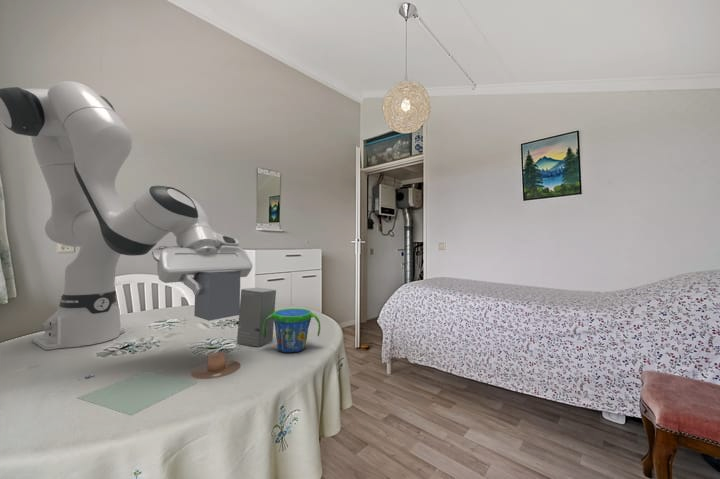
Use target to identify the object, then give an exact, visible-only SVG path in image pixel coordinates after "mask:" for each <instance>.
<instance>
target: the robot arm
mask: <svg viewBox="0 0 720 479" xmlns="http://www.w3.org/2000/svg"><path fill="white" fill-rule="evenodd" d="M0 121H1V122H2V125H4V126H5V128H6V129H8V130H9V131H11V132H13V133H14V134H17V135H19V136H20V135H21V136H27V137H28V136H30V138H31V143H32V147H33V151H34V154H35V158H36V160H37V163H38V165H39V168H40V170H41V173H42V175H43V177H44V180H45V183H46V186H47V188H48V191H49V194H50V199H51V213H50V214H51V215H50V217H49V218H48V220H47V221H46V223H45V226H44V231H45V235H46V236H47V238H49V239H50V241H52V242H54V243H57V244H61V245H62V246H63V245H64V246H69V247H75V248H76V247H78V248H79V247H80V248H79V251H78V253H77V254H76V257H75V258H74V260H72V262H70V263H69V264H67V266H66V267H65V270H64V287H63V288H64V290H63V291H64V292H63V294H62V295H60V297H61V298H60V300H59V304H58V306H59V309H58V310H56V311H55V312H54V313H53V314H52V315H51V316H50V317H49V318H47V319H46V320H45V322H43V323H41V324H40V325H41V326H40V330H41V331H42V332H44V334H42V335H38V336H34V337H33V339H32V343H35V344H36V345H37V346H39V347H40V348H42V350H45V351H49V350H55V349H56V350H57V349H62V348H63V349H64V348H77V347H83V346H91V345H95V344H100V343H104V342H108V341H112V340H113V339H117V338H118V337H120V335H121V334H123V333H125V328H122V326H121V325H122V324H121V311H120V307H119V306H117V305H116V304H115V303H116V302H117V291H116V290H115V285H116V283H115V282H116V272H117V271H116V270H117V266H118V265H117V264H118V262H119V259H120V257H121V255H124V256H144V255H146V254H148V253H149V252H150V251H151V250H152V249H153V250H152V253H151V254H152V257H153V260H154V261H155V262H157V263H156V271H157V275H158V279H159V281H160V282H163V283H164V284H169V283H182V282H183V285H185V286H186V287H187V288H189V289H190V290H191V291H192V292H193V295H194V296H195V295H200V294H203V292H204V287H203V285H202V284H198V283H197V282H196V281H195V276H196V273H199V271H216V270H237V271H241V272H240V278H247V277H248V276H249V274H250V273H251V271H252V269H253V263H252V261H251V259H250V257H249V255H248V254H247V252H246V251H245V250H244V249H243V248H242V247H240V241H239V240H238V239H237V238H234V237H230V236H227V235H224V234H221V233H218V232H216V231H215V229H213V228H212V225H211V221H210V219H209V217H208V215H207V212H205V210H204V208H203V207H202V206H201V205H200V203H199V202H198V201H197V200H196V199H194V198H193V197H191V196H188V195H187V194H185V193H184V192H183V191H181V190H179V189H177V188H175V187H170V186H167V185H152V186H150V187H149V188H148V189H146V190H145V191H144V192H142V193H141V194H140V195H139V196H137V198H135V199H134V200H133V201H132V202H131V203H130V204H129V205H127V206H126V207H125V206H124V204H123V202H122V200H121V198H120V196H119V195H118V192H117V190H116V187H115V186H116V185H115V184H116V183H115V182H116V179H117V177H118V174H119V172H120V169H121V168H122V166H123V164H124V163H125V161H126V160H127V158H128V157H129V155H130V153H131V150H132V148H133V138H132V135H131V132H130V130H129V128H128V127H127V125H126V124H125V122H124V121H123V120H122V119H121V117H120V116H119V115H118V114H117V112H116V110H115V108H114V106H113V105H112V103H111V102H110V101H109V100H108V99H107V98H106V97H105V96H102V95H100V94H98V93H97V92H96V91H95V90H93V89H92V88H91V87H89V86H88V85H86V84H83V83H80V82H77V81H72V80H71V81H70V80H64V81H59V82H57V83H55V84H53V85H52V86H50V87H49V88H21V87H18V86H13V87H3V88H0ZM170 233H172V234H173V236H174V237H175V238H176V239H175V242H176V245H175V246H173V245H172V246H166V245H164V246H163V245H162V246H158V247H156V248H154V247H155V246H156V245H157V244H158V242H159V241H161V240H162V239H163V238H164V237H166V236H167V235H168V234H170Z"/></svg>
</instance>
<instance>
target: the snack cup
mask: <svg viewBox="0 0 720 479" xmlns="http://www.w3.org/2000/svg"><path fill="white" fill-rule="evenodd" d="M269 318H273V319H274V330H275V331H274V332H275V338H276V346H277V349H278V351H280V352H282V353H294V352H296V353H297V352H298V353H299V352H300V351H303V350H304V349H305V348H306V346H307V345H306V344H307V339H308V333H309V327H310V324H311V320H312V318H314V319H315V320H316V322H317V323H318V330H317V337H320V334H321V321H320V319H319V317H318V316H317V315H316V314H315V313H313V312H312V311H311V310H309V309H306V308H305V309H304V308H283V309H279V310H276V311H275V312H274V313H273V314H271V315H270V316H268V317H267V318H266V320H265V322H264V325H263V337H264V338H266V322H267V320H268V319H269Z"/></svg>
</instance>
